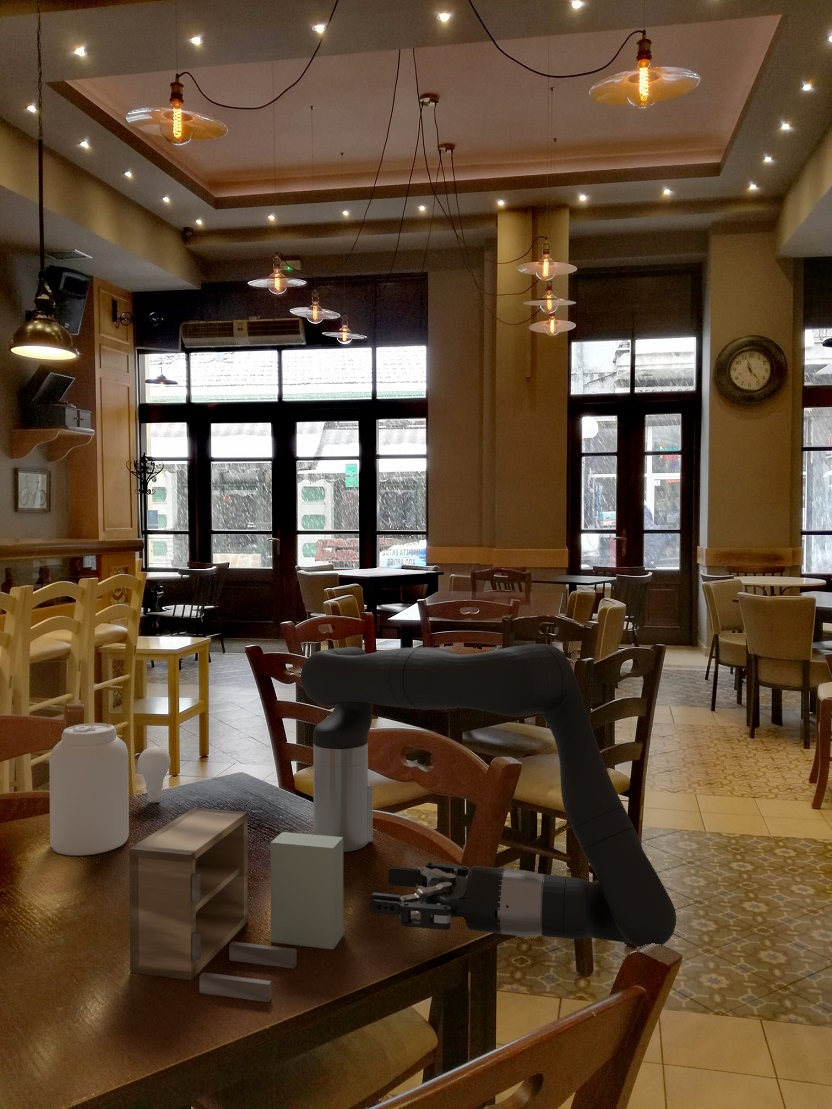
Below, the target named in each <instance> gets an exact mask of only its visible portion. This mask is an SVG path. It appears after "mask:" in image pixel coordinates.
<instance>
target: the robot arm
mask: <svg viewBox="0 0 832 1109" xmlns="http://www.w3.org/2000/svg"><path fill="white" fill-rule="evenodd" d="M300 683H301V686H302V689H303V690H304V693H305V694H306V696H307V697H308V698H309V699H311V700H312V701H313V702H315V703H316V704H319V705H321V706H331V705H335V706H334V709H333V710H332V712H331V713H330V714H329V715H327V717H325V718H324V719H323V720H322V721H320V722H318V723H317V724H316V725H315V726H314V729H313V735H312V736H313V738H312V739H313V742H312V743H313V744H312V747H313V749H312V750H313V757H312V758H313V760H312V761H313V835H323V836H334V837H343V853H347V852H353V851H358V850H359V849H362V848H364V847H366V846H367V845H368V844H369V843H370V842H373V840H374V839H373V836H374V834H373V829H374V828H373V827H374V822H373V821H374V820H373V818H374V817H373V813H374V812H373V809H374V808H373V801H374V800H373V799H374V798H373V797H374V795H373V794H374V793H373V789H374V788H373V786H372V784H369V777H368V776H369V759H368V757H369V755H368V754H369V751H368V750H369V749H368V748H369V743H368V742H369V733H370V729H371V727H372V722H373V709H374V708H373V705H379V706H386V707H391V708H392V707H393V708H401V709H402V708H403V709H411V710H412V709H413V710H450V709H455V708H456V709H457V708H466V709H472V710H477V711H481V712H488V713H491V714H495V715H499V716H500V715H501V716H505V717H513V718H520V717H529V716H534V715H538V714H539V715H541V716H542V718H543V719H544V721H545V723H546V724H547V726H548V728H549V730H550V731H551V733H552V737H553V739H554V742H555V745H556V748H557V754H558V759H559V769H560V771H559V774H560V792H561V798H562V799H561V800H562V805H563V808H564V811H565V816H566V818H567V820H568V822H569V825H570V827H571V829H572V831H573V833H574V836H575V838H576V840H577V843H578V845H579V847H580V849H581V851H582V853H583V855H584V857H585V859H586V861H587V863H588V864H589V866H590V868H591V869H592V870H593V872H594V874H595V876H596V878H597V881H590V880H586V879H582V878H580V877H572V876H566V875H565V876H564V875H556V874H555V875H553V874H544V873H538V872H534V871H529V870H524V869H512V868H502V867H490V866H489V867H488V866H480V865H474V866H471V867H469V866H466V865H459V864H450V863H441V862H433V861H428V862H425V863H424V864H425V865H424V866H418V867H417V868H413V867H411V868H410V867H409V868H408V867H401V866H399V867H398V866H391V867H390V868H389V870H387V876H388V877H387V878H388V879H387V880H388V884H389V885H390V886H395V887H397V886H398V887H406V888H418V889H417V890H416V891H415V893H411V894H405V895H401V894H394V893H393V894H392V893H385V892H383V893H382V892H381V893H380V892H372V893H371V895H370V897H369V911H370V912H371V913H374V914H384V915H391V916H392V915H393V916H398V917H399V919H400V926H402V927H407V928H417V929H418V928H419V929H430V930H442V931H449V930H451V925H452V923H451V922H452V918H460V917H462V918H463V919H464V921H465V926H466V929H468V930H469V931H471V932H482V933H491V934H492V933H493V934H501V935H508V936H509V935H510V936H518V937H537V936H538V937H542V936H543V937H549V938H558V939H565V940H566V939H567V940H583V939H590V938H591V939H597V940H603V941H610V942H611V941H612V942H618V943H626V944H632V945H633V946H635V947H638V948H641V946H643V945H645V944H651V943H655V944H661V946H663V945H665V944H666V943H667V942H668V941H669V940H670V939H671V938H672V937H673V935H674V932H675V929H676V927H677V913H676V909H675V906H674V903H673V901H672V899H671V897H670V895H669V893H668V891H667V890H666V887H665V886H664V884H663V883H662V881H661V879H660V876H659V875H658V873H657V871H656V869H655V868H654V867H653V866H654V865H652V862H651V861H650V860H649V857H648V856H647V855H646V853H645V851H644V849H643V845H642V843H641V841H640V840H641V839H640V837H639V836H638V833H637V831H636V829H635V826H634V824H633V823H632V820H631V818H630V816H629V814H628V812H627V810H626V808H625V807H624V803H623V801H622V800H621V798H620V795H618V792H617V790H616V787H615V786H614V783H613V781H612V778H611V776H610V774H609V772H608V770H607V767H606V765H605V763H604V759H603V756H602V754H601V750H600V748H599V745H598V744H599V743H598V742H597V738H596V736H595V732H594V730H593V726H592V723H591V720H590V717H589V713H588V711H587V708H586V705H585V702H584V699H583V695H582V692H581V690H580V686H579V683H578V680H577V677H576V674H575V672H574V670H573V667H572V665H571V662H570V661H569V659H568V658H567V656H566V655H565V654H564V653H563V651H562V650H561V649H559V648H558V647H556V646H555V645H552V644H548V643H534V644H524V645H523V644H522V645H515V646H509V647H505V648H500V649H496V650H490V651H485V652H477V653H469V654H468V653H467V654H459V653H454V652H452V651H449V650H447V649H444V648H441V647H432V646H431V647H428V646H426V647H423V646H421V647H420V646H415V647H412V646H411V647H400V648H393V649H386V650H381V651H376V652H371V653H367V651H366V650H364V649H362V648H361V647H357V646H348V647H347V646H346V647H335V648H329V649H323V650H322V649H321V650H319V651H315V652H314V653H312V654H311V655H310V656H309V657H307V658H306V659H305V662H304V663H303V665H302V668H301V670H300Z"/></svg>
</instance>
